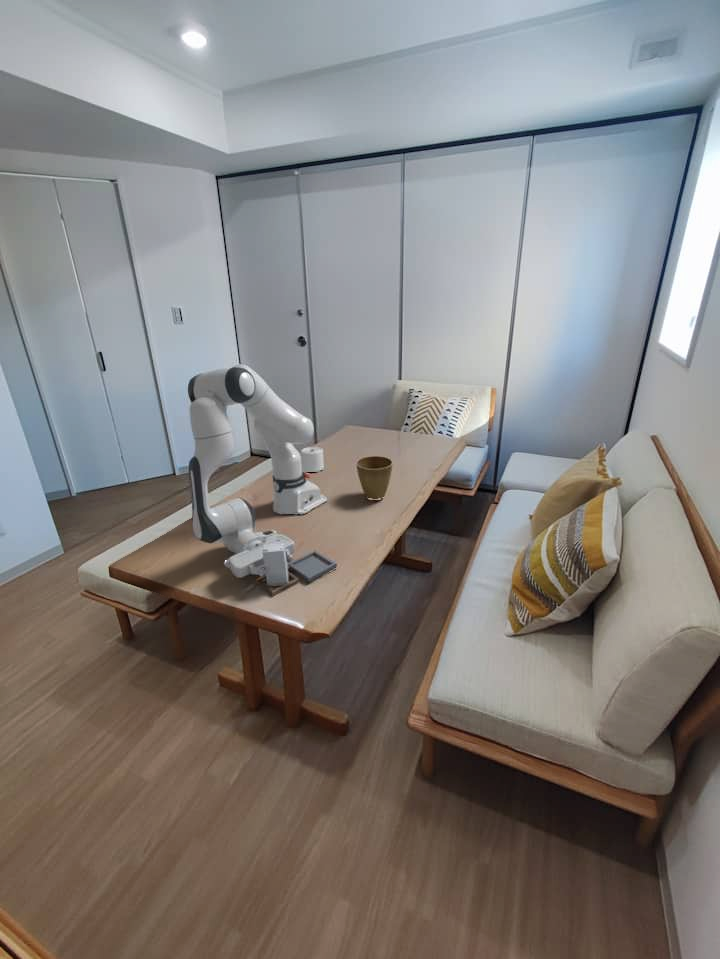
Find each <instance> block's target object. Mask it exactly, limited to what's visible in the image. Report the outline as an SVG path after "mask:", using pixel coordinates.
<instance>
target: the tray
mask: <svg viewBox="0 0 720 959" xmlns="http://www.w3.org/2000/svg"><path fill="white" fill-rule="evenodd" d="M337 564H338V563H336V562H335V561H334V560H332V559H330V558H329V557H327V556H326V555H323V554H322V553H320V552H319V551H317V550H313V551H310V552H309V553H307V554H304V555H303V556H301V557H299V558H297V559H293V561H291V562H289V563H288V562H287V568H288V571H291V572H292V573H293V572H294V574H295V575H296V574H297V575H296V576H298V577H299V578H301V580H303V581H305V582H306V583H308V584H310V585H311V584H312V583H314V582H316V581H317V579H318V578H319V579H321V578H322V577H321V576H323V575H324V574H326V573H328V572H329V571H331V570H333V569H334V568H336V567H337V568H338V565H337ZM328 574H329V573H328ZM320 577H321V578H320ZM323 577H324V576H323ZM319 579H318V580H319ZM315 580H316V581H315ZM313 581H314V582H313Z"/></svg>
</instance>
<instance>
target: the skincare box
mask: <svg viewBox="0 0 720 959" xmlns="http://www.w3.org/2000/svg"><path fill="white" fill-rule="evenodd" d="M262 553H263V559H264V566H265V567H264V569H265V571H266V572H265V573H266V585H268V586H269V587H278V586H279V587H281V586H283V585H285V584H287V583H289V576H288V571H289V569H288V562H287V560H286V552H285V545H284V544H272V545H264V548H263V552H262Z"/></svg>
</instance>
